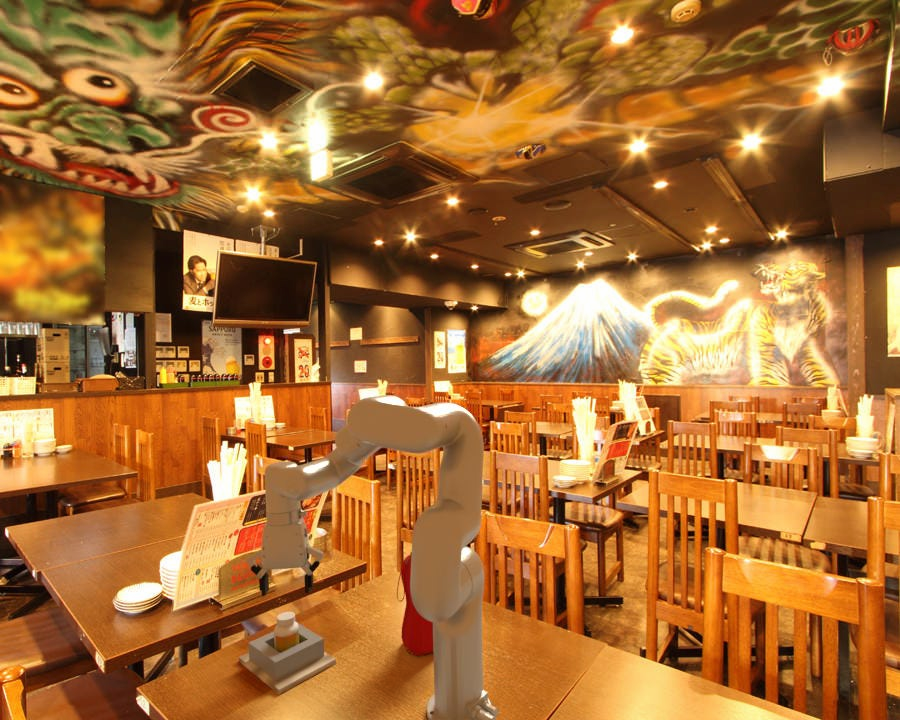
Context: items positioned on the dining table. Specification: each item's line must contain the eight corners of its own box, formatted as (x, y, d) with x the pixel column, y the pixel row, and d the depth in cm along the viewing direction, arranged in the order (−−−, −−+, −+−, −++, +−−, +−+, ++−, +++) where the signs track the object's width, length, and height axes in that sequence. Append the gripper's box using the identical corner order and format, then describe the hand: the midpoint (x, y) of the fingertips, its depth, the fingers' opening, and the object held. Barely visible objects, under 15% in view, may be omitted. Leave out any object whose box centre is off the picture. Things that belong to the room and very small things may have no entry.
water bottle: (391, 643, 123) (389, 540, 123) (432, 631, 128) (430, 532, 128) (406, 663, 115) (403, 553, 115) (449, 649, 120) (446, 543, 120)
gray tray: (335, 663, 115) (335, 658, 115) (279, 694, 105) (279, 689, 105) (293, 635, 127) (293, 631, 127) (238, 661, 117) (238, 657, 117)
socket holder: (324, 656, 116) (323, 638, 116) (276, 681, 108) (275, 662, 108) (296, 637, 125) (295, 621, 125) (249, 660, 116) (248, 642, 116)
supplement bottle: (302, 659, 115) (301, 616, 115) (278, 668, 112) (277, 624, 112) (295, 648, 120) (294, 607, 120) (272, 656, 117) (270, 614, 117)
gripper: (325, 510, 120) (328, 582, 120) (250, 514, 119) (253, 587, 119) (318, 519, 113) (321, 597, 113) (239, 524, 112) (242, 602, 112)
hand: (286, 592), depth 116 cm, fingers open, 9 cm apart
